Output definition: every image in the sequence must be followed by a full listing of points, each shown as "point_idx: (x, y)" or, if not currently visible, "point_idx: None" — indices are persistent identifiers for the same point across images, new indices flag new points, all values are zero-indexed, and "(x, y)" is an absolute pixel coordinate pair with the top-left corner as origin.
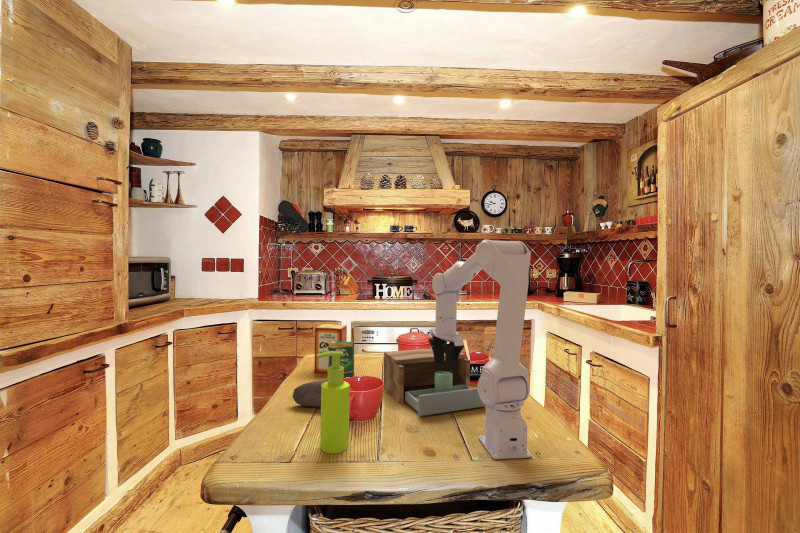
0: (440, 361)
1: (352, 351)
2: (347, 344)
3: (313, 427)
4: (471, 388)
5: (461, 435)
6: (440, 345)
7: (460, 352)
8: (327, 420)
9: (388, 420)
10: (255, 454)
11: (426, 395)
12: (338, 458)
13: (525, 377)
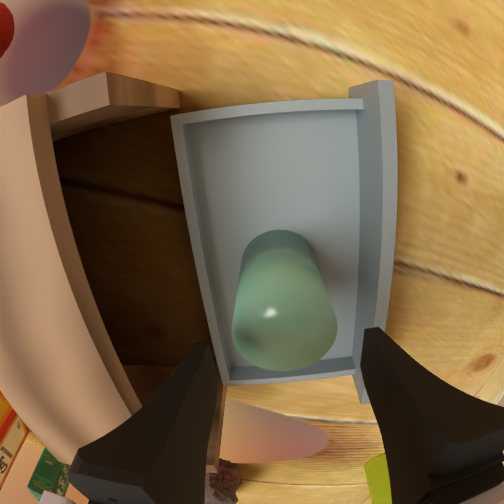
0: (209, 367)
1: (54, 481)
2: None
3: (308, 480)
4: (384, 188)
5: (479, 288)
6: (186, 467)
7: (467, 396)
8: None
9: (334, 410)
10: (353, 500)
11: None
12: None
13: None
